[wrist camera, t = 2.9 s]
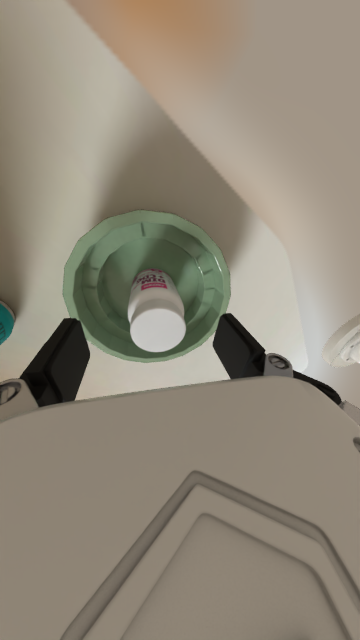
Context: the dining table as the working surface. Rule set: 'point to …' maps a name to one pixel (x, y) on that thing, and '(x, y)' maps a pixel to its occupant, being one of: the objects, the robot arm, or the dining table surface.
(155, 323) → the pill bottle
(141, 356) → the bowl
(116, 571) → the robot arm
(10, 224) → the dining table surface
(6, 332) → the beverage can
